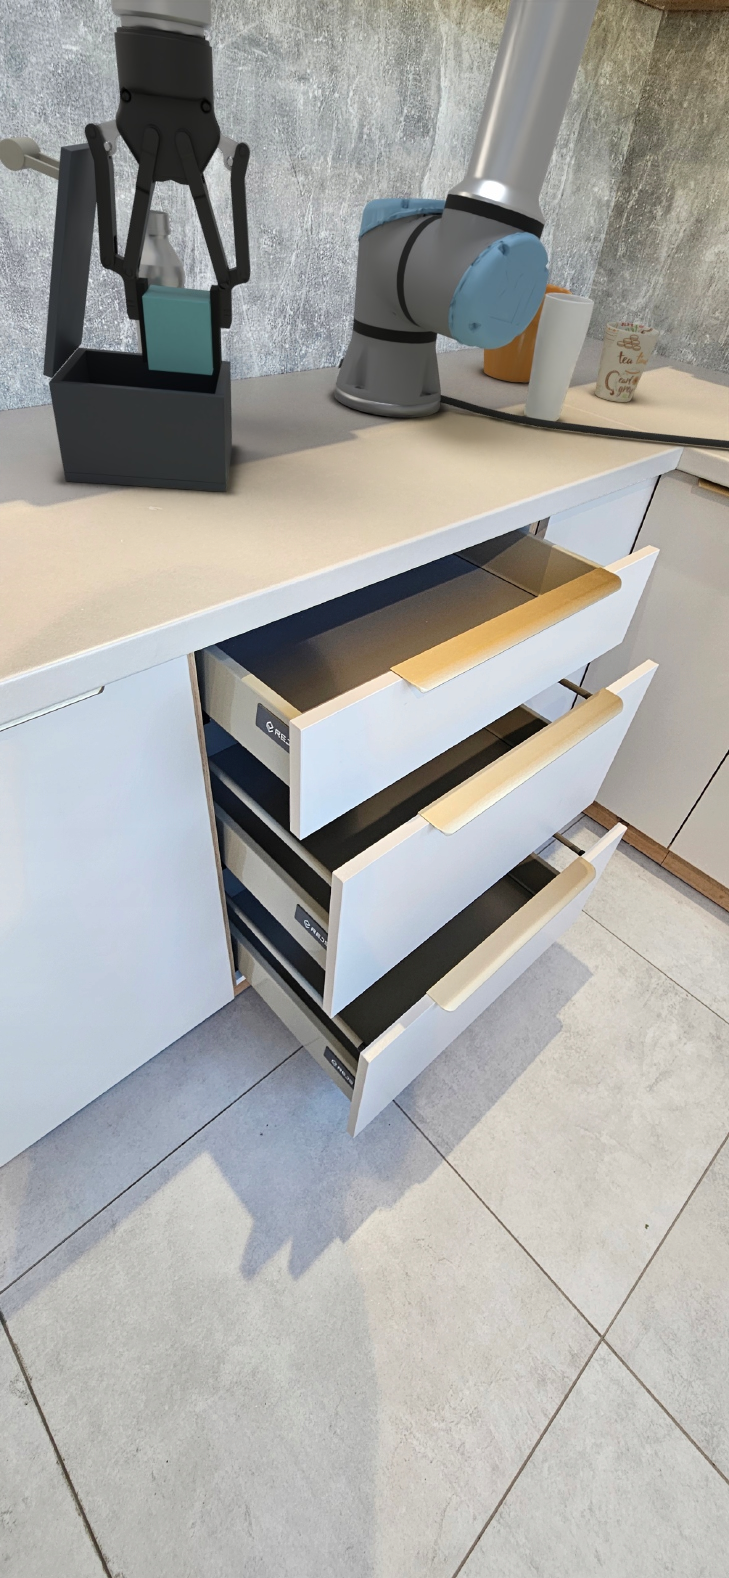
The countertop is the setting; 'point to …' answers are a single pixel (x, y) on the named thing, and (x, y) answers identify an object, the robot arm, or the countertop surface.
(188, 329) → the detergent carton
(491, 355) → the flower pot
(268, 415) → the countertop surface
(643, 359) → the mug
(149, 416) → the compartment
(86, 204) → the lid
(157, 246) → the silver metal bottle
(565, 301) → the drinking glass
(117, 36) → the robot arm
